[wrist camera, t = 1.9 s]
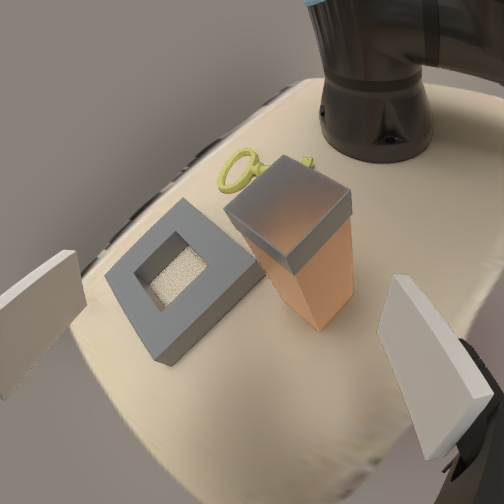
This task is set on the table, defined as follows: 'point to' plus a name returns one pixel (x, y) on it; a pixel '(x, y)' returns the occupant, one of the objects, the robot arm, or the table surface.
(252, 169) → the key
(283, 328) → the table surface
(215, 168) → the table surface
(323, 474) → the table surface
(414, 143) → the robot arm
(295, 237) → the plug
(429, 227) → the table surface
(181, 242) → the socket block
